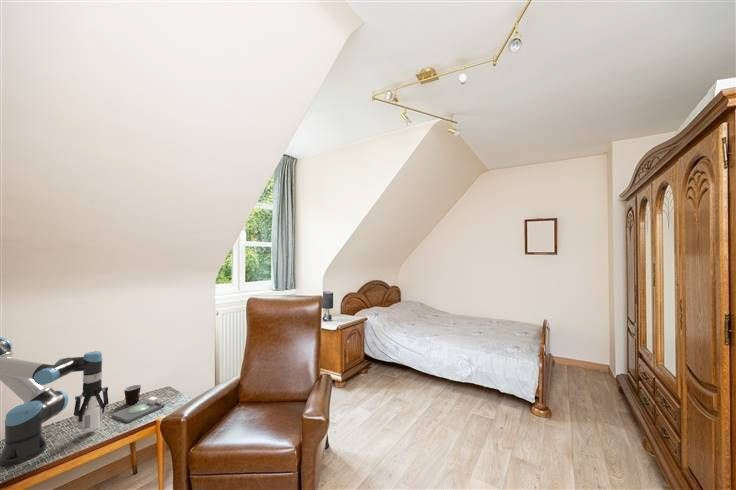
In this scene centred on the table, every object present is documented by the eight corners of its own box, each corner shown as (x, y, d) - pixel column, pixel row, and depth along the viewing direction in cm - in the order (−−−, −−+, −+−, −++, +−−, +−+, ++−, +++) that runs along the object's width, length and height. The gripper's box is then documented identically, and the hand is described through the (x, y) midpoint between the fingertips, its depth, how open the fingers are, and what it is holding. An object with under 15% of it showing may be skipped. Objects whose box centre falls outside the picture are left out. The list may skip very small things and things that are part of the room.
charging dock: (127, 423, 168) (127, 415, 168) (111, 416, 175) (111, 409, 175) (164, 406, 186) (164, 399, 186) (148, 401, 193) (148, 394, 194)
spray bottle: (87, 426, 161) (88, 393, 162) (102, 424, 164) (103, 391, 164) (79, 433, 155) (80, 399, 156) (95, 431, 157) (96, 397, 158)
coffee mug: (133, 406, 187) (133, 390, 188) (120, 406, 187) (120, 390, 188) (147, 397, 199) (147, 382, 199) (135, 397, 199) (135, 383, 199)
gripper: (71, 389, 150) (70, 435, 149) (117, 375, 168) (116, 415, 167) (64, 386, 153) (63, 431, 152) (110, 373, 171) (109, 413, 170)
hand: (91, 423), depth 159 cm, fingers closed on spray bottle, 7 cm apart
